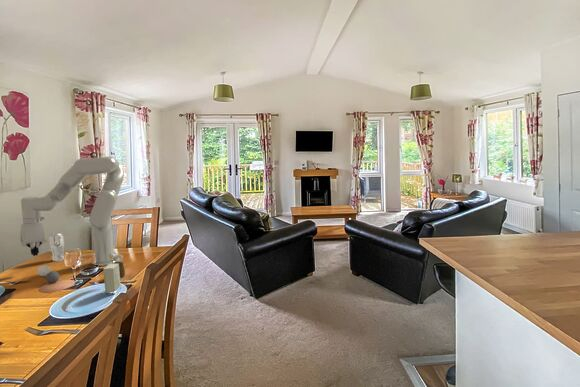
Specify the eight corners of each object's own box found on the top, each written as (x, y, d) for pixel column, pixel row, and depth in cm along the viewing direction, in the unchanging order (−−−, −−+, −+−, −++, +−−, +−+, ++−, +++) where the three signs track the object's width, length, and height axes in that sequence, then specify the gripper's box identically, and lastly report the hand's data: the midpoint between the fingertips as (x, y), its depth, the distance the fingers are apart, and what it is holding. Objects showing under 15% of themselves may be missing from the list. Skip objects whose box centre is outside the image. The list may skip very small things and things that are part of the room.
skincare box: (111, 289, 154) (109, 263, 152) (121, 288, 154) (119, 263, 153) (105, 295, 148) (102, 268, 146) (115, 294, 148) (113, 268, 146)
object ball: (61, 279, 166) (60, 269, 165) (57, 284, 161) (56, 273, 160) (49, 281, 165) (47, 270, 164) (44, 285, 159) (42, 274, 159)
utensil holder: (122, 278, 166) (120, 255, 164) (109, 279, 165) (106, 255, 164) (127, 274, 172) (125, 251, 170) (114, 274, 171) (112, 252, 170)
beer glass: (58, 262, 193) (55, 236, 190) (48, 261, 194) (45, 236, 192) (68, 258, 199) (66, 233, 197) (58, 257, 201) (56, 233, 199)
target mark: (79, 278, 167) (79, 278, 167) (69, 290, 154) (69, 289, 154) (47, 282, 163) (46, 281, 163) (33, 294, 150) (33, 293, 150)
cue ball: (53, 273, 175) (51, 263, 174) (48, 277, 170) (47, 266, 169) (40, 274, 173) (39, 264, 173) (35, 278, 168) (34, 268, 167)
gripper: (47, 217, 182) (49, 250, 184) (11, 221, 170) (15, 257, 173) (51, 219, 177) (54, 253, 179) (15, 224, 166) (19, 260, 168)
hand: (35, 255), depth 176 cm, fingers closed
